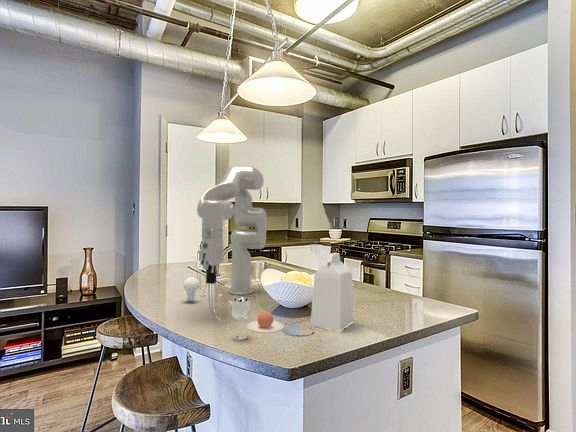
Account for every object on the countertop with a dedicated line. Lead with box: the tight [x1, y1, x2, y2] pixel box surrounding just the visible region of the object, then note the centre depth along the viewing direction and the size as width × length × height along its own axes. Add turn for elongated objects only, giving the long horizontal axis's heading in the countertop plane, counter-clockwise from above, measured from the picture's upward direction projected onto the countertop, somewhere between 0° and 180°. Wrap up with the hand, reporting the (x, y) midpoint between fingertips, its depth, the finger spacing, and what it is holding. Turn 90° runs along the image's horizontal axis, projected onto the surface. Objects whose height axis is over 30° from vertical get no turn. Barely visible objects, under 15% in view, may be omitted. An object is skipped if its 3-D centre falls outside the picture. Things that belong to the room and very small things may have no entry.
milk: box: [310, 252, 354, 330], centre depth 125 cm, size 12×12×26 cm
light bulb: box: [183, 276, 200, 303], centre depth 149 cm, size 7×7×11 cm
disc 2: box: [281, 324, 302, 337], centre depth 117 cm, size 11×11×1 cm
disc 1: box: [246, 320, 285, 334], centre depth 121 cm, size 13×13×1 cm
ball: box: [256, 310, 274, 328], centre depth 119 cm, size 6×6×6 cm
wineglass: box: [231, 297, 251, 341], centre depth 109 cm, size 6×6×12 cm
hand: (211, 282), depth 127 cm, fingers closed
